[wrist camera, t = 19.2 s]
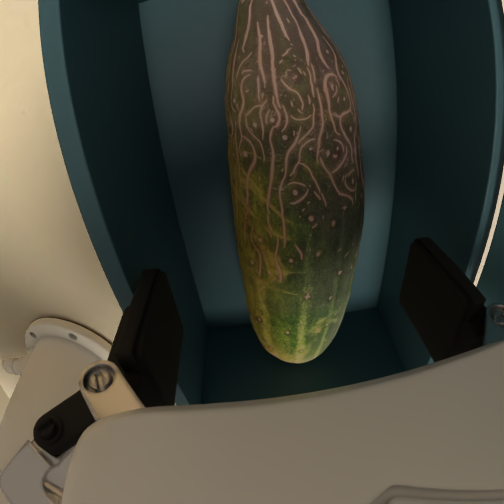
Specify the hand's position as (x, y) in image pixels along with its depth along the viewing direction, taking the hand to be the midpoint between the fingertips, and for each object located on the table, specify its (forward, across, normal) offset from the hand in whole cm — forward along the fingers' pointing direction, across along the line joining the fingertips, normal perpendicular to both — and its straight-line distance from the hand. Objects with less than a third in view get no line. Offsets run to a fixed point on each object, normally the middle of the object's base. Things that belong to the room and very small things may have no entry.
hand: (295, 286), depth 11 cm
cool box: (+8, -1, -2) cm, 8 cm away
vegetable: (+5, -1, +9) cm, 10 cm away
